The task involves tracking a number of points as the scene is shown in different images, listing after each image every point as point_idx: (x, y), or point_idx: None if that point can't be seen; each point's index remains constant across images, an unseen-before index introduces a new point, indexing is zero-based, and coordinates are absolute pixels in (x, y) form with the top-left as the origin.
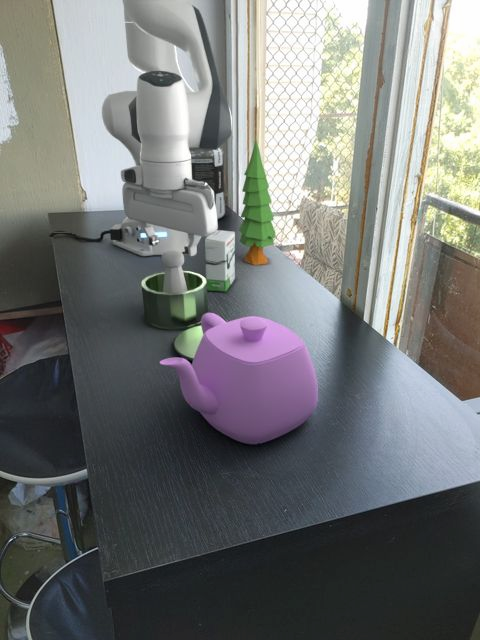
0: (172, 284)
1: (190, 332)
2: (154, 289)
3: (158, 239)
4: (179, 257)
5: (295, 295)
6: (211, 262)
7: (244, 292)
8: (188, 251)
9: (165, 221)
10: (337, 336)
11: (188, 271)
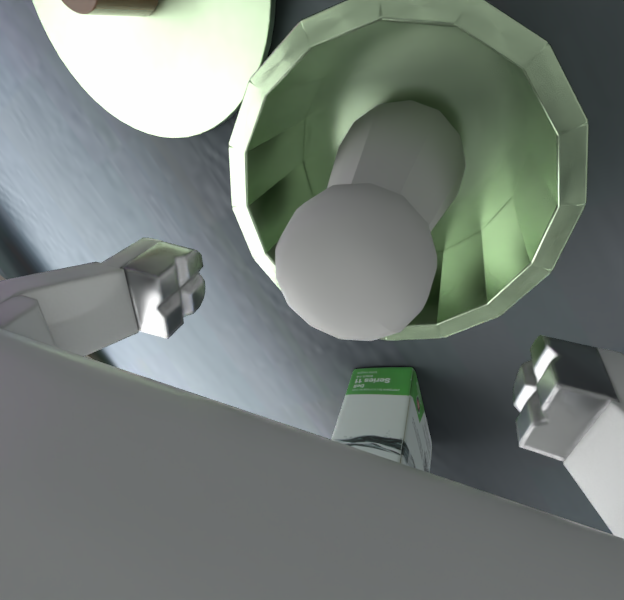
0: (359, 155)
1: (244, 4)
2: (532, 204)
3: (520, 416)
4: (276, 255)
5: (203, 385)
6: (378, 444)
7: (309, 377)
8: (144, 251)
9: (167, 486)
10: (16, 229)
11: (391, 339)
